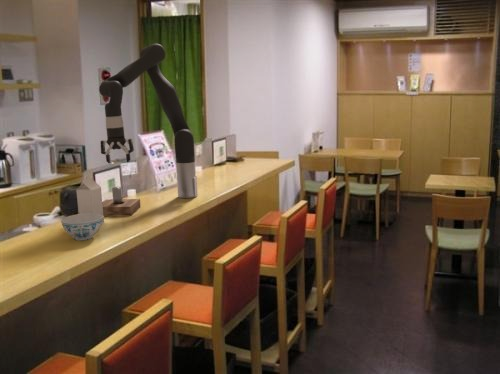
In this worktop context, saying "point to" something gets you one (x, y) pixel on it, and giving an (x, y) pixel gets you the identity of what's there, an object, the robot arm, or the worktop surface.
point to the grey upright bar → (117, 195)
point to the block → (120, 207)
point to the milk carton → (90, 198)
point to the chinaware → (82, 225)
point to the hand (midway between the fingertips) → (118, 162)
